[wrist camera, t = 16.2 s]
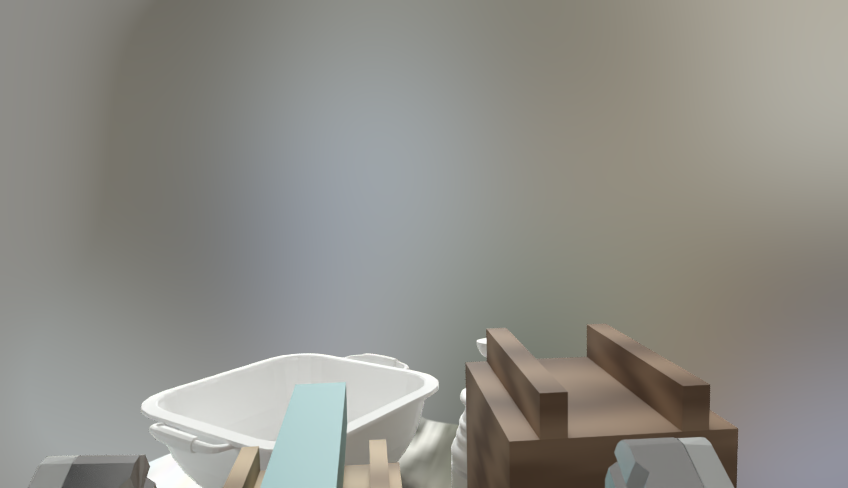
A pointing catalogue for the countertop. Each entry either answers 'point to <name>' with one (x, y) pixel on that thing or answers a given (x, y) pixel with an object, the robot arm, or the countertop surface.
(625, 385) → the end cap post
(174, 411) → the baking dish
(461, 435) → the honey pot
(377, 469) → the tan wooden tall block
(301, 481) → the teal block
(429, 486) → the countertop surface
